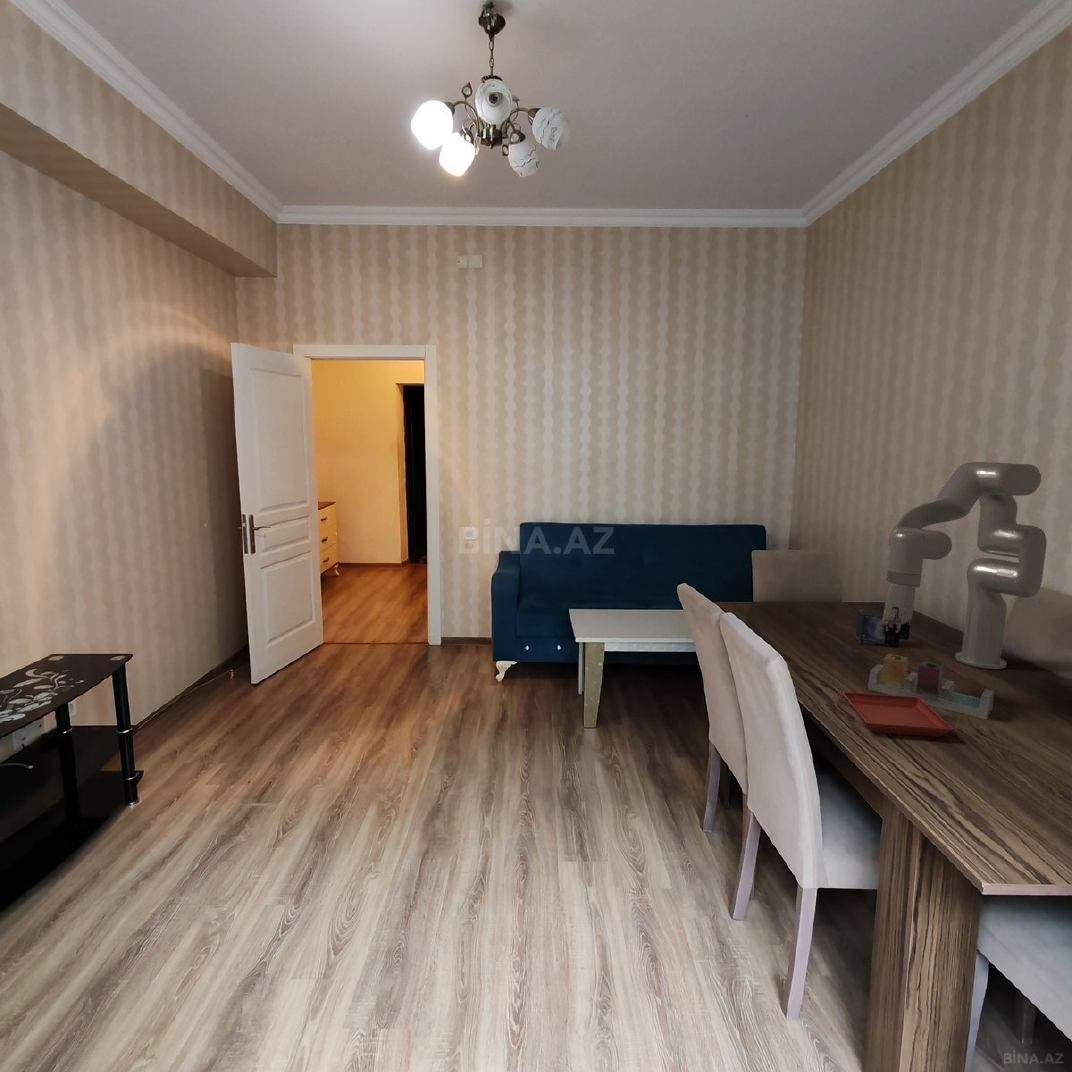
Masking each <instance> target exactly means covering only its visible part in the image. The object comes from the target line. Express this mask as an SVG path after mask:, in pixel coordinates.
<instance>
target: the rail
mask: <svg viewBox="0 0 1072 1072" xmlns="http://www.w3.org/2000/svg"><path fill="white" fill-rule="evenodd" d="M883 666H884V664H880V663H878V664H876V665H875V666H874V667H872V668H871V669H870V670H869V680H868V682H867V683H868V686H867V690H870V691H874V692H877V693H878V692H879V693H882V694H884V695H895V696H909V697H918V698H920V699H922V700H923V701H924V702H925V703H926V704H927V705H928V706H931V707H932V706H933V707H935V708H940V709H943V710H949V711H952V712H956V713H961V714H963V715H967V716H972V717H975V718H979V719H982V720H988V718H989V716H990V714H991V713H992V711H993V704H994V697H995V690H992V689H988V688H985V689H984V691H983V692H982V694H981V695H980V698H979V697H976V696H971V695H967V694H964V693H963V694H962V693H959V692H954V689H955V681H954V680H950V679H949V680H948V679H947V680H946V681H945V683H944V684H943V685H942V686H941V692H940V693H939V694H938V696H932V695H928V694H924V693H920V692H916V689H917V680H918V673H917V672H914V671H911V672H910V674H908V675H907V676H906V679H905V684H904V685H903V686H902V687H901V688H900V687H896V686H892V685H888V684H884V683H882V677H883Z"/></svg>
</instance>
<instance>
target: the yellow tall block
mask: <svg viewBox="0 0 1072 1072" xmlns="http://www.w3.org/2000/svg"><path fill="white" fill-rule="evenodd" d="M908 661H909V657H907V656H901V655H898V654H893V653H888V654H887V655H886V656H885V657H883V665H884V666H883V677H882V683H884V684H888V685H892V686H896V687H900V688H901V687H902V686H903V685H904V684H905V679H906V678H907V672H908Z"/></svg>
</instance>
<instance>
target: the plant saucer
mask: <svg viewBox="0 0 1072 1072" xmlns="http://www.w3.org/2000/svg"><path fill="white" fill-rule="evenodd" d="M842 694H843V696H844V698H845V700H846V702H847V703H848V704H849V706H850V707H851V708H852V709H853V711H854V712H855V713H856V714H857V716H858V717H859V718H860V719H861V721H862V722H863V723H864V724H865V726H866V727H867V728H868V730H869V731H870V732H873V733H883V734H895V735H896V734H897V735H910V736H921V737H922V736H923V737H934V738H939V737H942V736H944V735H947V734H948V733H950V732H951V731H952V730H954V728H953V726H951V724H949V723H948V721H946V720H945V719H943V717H941V715H939V714H938V713H937V712H936V711H935V710H934V709H933V708H931V706H930V705H928V704H926V703H925V702H924V701H923V700H922V699H920V698H918V697H909V696H895V695H889V694H878V693H863V692H852V691H850V692H848V691H847V692H846V691H843V692H842Z"/></svg>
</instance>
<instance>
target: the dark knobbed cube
mask: <svg viewBox="0 0 1072 1072" xmlns="http://www.w3.org/2000/svg"><path fill="white" fill-rule="evenodd" d="M943 673H944V664H938V663H934V662H929V661H926V660H925V661H924V660H923V661H922V662H921V663H920V664H919V665H918V680H917V689H916V692H920V693H924V694H928V695H932V696H938V694H939V693H940V692H941V688H942V683H943Z"/></svg>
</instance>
